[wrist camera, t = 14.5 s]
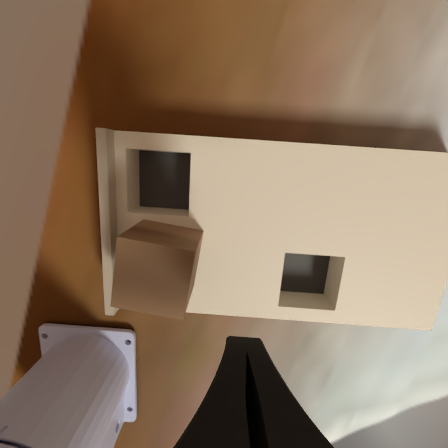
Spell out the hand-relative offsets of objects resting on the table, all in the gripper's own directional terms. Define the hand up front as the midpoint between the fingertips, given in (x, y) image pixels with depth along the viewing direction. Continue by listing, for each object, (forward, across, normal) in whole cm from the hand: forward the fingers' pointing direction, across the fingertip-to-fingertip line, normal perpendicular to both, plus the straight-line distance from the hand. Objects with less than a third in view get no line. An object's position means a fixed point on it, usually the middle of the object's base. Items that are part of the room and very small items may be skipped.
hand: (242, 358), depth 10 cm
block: (+7, +5, -1) cm, 9 cm away
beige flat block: (+10, -3, -3) cm, 11 cm away
